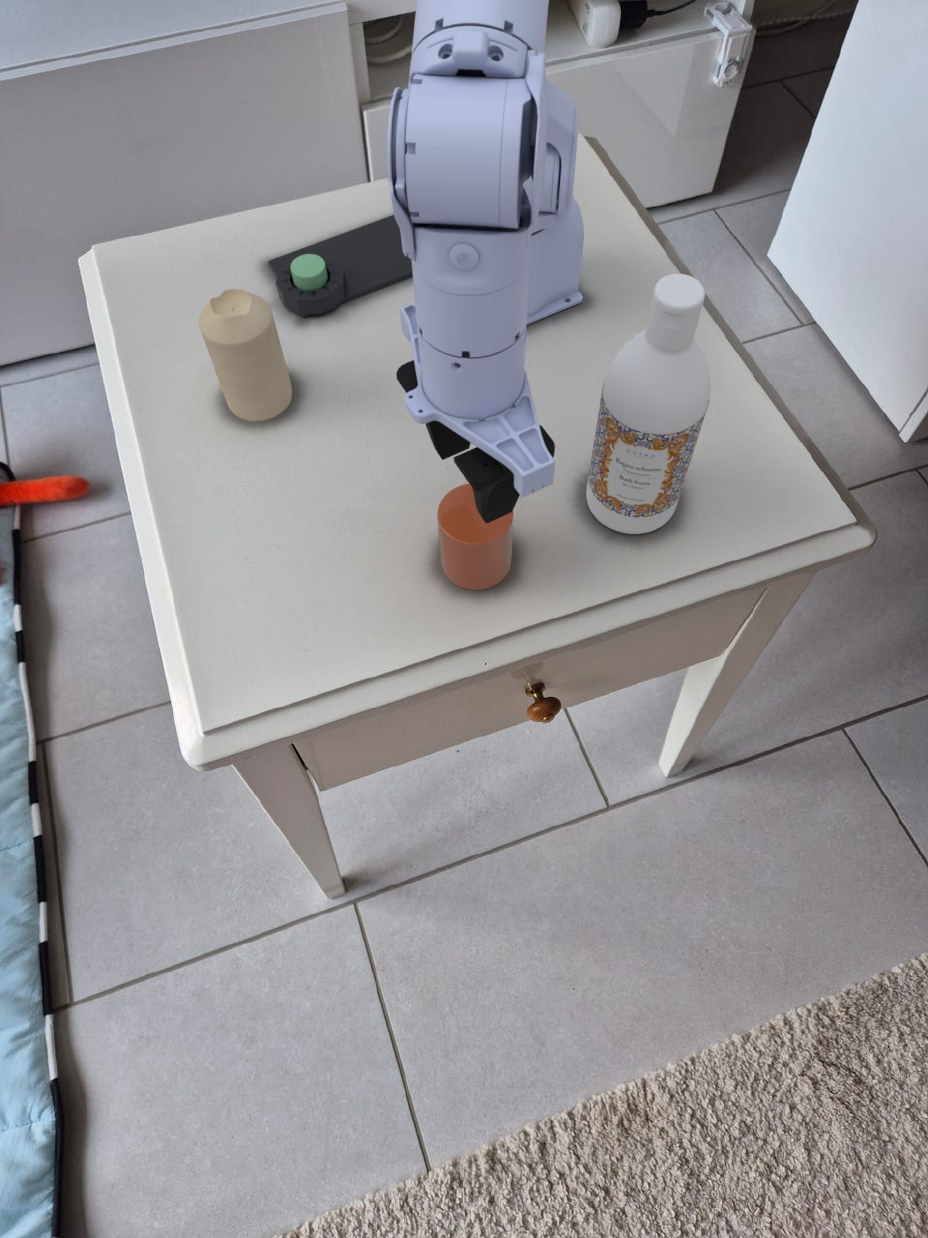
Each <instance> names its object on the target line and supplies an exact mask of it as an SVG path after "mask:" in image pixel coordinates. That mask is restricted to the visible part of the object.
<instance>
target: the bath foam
mask: <svg viewBox="0 0 928 1238" xmlns="http://www.w3.org/2000/svg"><path fill="white" fill-rule="evenodd" d="M705 291H706V290H705V287H704V286H703V284H702V283H701V281H699V280H698V279H697V278H696V277H694V276H691V275H689V274H683V273H671V274H667V275H664V276H662V277H660V279H659V280H658V281H657V282H656V284H655V285H654V288H653V292H652V297H651V301H650V306H649V312H648V315H647V321H646V326H645V329H643V330H642V331H640V332H639V333H638V334H636V335H635V336H633V337H632V338H631V339H630V340H629V341H627V342H626V343H625V344H624V345H623V346H622V348H620V350H619V351H618V352H617V354H615V357H614V358H613V359H612V361H611V363H610V365H609V367H608V369H607V371H606V374H605V377H604V381H603V383H602V388H601V394H600V399H599V400H600V401H599V405H598V406H599V407H598V412H597V420H596V425H595V432H594V438H593V443H592V450H591V456H590V462H589V463H590V464H589V469H588V477H587V483H586V489H585V490H586V492H585V493H586V494H585V495H586V502H587V505H588V508H589V510H590V512H591V514H592V515H593V516H594V517H595V518H596V520H597V521H598V522H600V523H601V524H602V525H603V526H606V527H607V528H609V529H610V530H612V531H616V532H618V533H621V534H627V535H640V534H647V533H651V532H653V531H655V530H656V531H657V530H658V529H659V528H661V527H663V526H664V525H665V524H666V523H667V522H668V521H669V520H671V518H672V517H673V515H674V513H675V511H676V509H677V506H678V502H679V499H680V496H681V494H682V492H683V491H682V490H683V487H684V484H685V480H686V478H687V474H688V471H689V468H690V465H691V462H692V459H693V455H694V453H695V449H696V446H697V442H698V440H699V436H700V433H701V431H702V426H703V423H704V420H705V417H706V414H707V410H708V406H709V405H710V404H709V403H710V396H711V387H712V385H711V382H712V381H711V372H710V367H709V364H708V361H707V357H705V353H704V352H703V350H702V348H701V346H700V345H699V343H698V342H697V340H696V339H695V334H696V331H697V328H698V323H699V321H700V317H701V314H702V313H701V312H702V310H703V305H704V301H705V297H706V292H705Z"/></svg>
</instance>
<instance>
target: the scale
mask: <svg viewBox="0 0 928 1238" xmlns="http://www.w3.org/2000/svg"><path fill="white" fill-rule="evenodd" d="M305 254H314V255H318V256H320V257H321V258H322V259H323V260H324V262H325V266H326V271H327V277H328V280H327V283H326V284H325V285H324V286H323V287H322V288H319V289H316V290H314V291H302V290H300V289H298V288H297V287H296V286H295V284H294V281H293V277H292V273H291V263H292V262H293V260H294V259H295V258H297V257H299V256H301V255H305ZM267 263H268V267H269V269H270V270H271V271H272V273H273V274H274V276H275V277H276V280H275V286H276V289H277V294H278V298H279V299H280V301H281V302H282V304H283V306H284V307H285V309H288V310H290V311H292V312H295V313H297V314H299V315H300V316H301V318H302V319H308V318H309V317H312V316H314V315H321V314H323V313H326V312H329V311H331V310H333V309H335V308H337V307H339V306H340V305H343V304H345V303H348V302H351V301H353V300H356V299H358V298H361V297H364V296H366V295H369V294H371V293H375V292H376V291H379V290H381V289H382V290H383V289H384V288H388V287H390V286H392V285H395V284H398V283H400V282H402V281H406V280H408V279H410V278H413V272H412V260H411V259H410V258H409V257H408V256H405V255H404V253H403V249H402V239H401V232H400V228H399V225H398V224H397V222H396V219H395V216H394V214H392V215H389V216H386V217H384V218H381V219H378V220H374V221H372V222H370V223H367V224H365V225H364V224H363V225H361V226H359V227H356V228H353V229H351V230H348V231H346V232H342V233H339V234H338V235H335V236H332V237H330V238H326V239H324V240H321V241H318V242H316V243H315V242H314V243H313V244H310V245H307V246H305V247H302V248H299V249H297V250H294V251H291V252H289V253H285V254H283V255H280V256H277V257H275V258H272V259H270V260H268V261H267Z"/></svg>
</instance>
